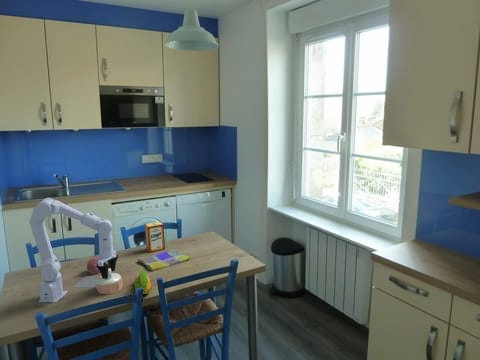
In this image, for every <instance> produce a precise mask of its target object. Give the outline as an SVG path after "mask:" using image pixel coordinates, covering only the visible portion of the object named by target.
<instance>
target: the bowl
mask: <svg viewBox="0 0 480 360" xmlns="http://www.w3.org/2000/svg"><path fill="white" fill-rule="evenodd" d="M96 287H97V288H96V291H97V292H98V293H99V294H100V295H111V294H114V293H117V292H119V291H121V290H122V288H123V287H124V281H123V277H122V276H121V279H120V280H119V281H118V282H116V283H114V284H111V285H98V284H96Z"/></svg>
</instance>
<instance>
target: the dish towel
mask: <svg viewBox="0 0 480 360" xmlns="http://www.w3.org/2000/svg"><path fill="white" fill-rule="evenodd" d="M190 259H191V257H190V256H188V255H184V254H182V253H181V252H179V250H177V249H176V248H172V249H169V250H166V251H163V252H160V253H157V254H154V255H149V256H146V257H140V258H137V259H136V261H138V262H139V263H141V264H142V265H143V266H145V268H146V269H147V270H148V271H149V272H154V271H158V270H162V269H165V268H169V267H172V266H176V265H178V264H182V263H184V262H186V261H188V260H190Z"/></svg>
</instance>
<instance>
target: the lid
mask: <svg viewBox="0 0 480 360" xmlns="http://www.w3.org/2000/svg"><path fill="white" fill-rule="evenodd" d="M98 276H99V277H97V278H96V279H95V283H96V284H98V285H111V284H114V283H116V282H118V281H119V280H120V279H121V277H122V276H121V275H120V274H119V273H116V272H112V271H111V268H109V269H108V278H107V279H103V278H102V275H101V274H100V275H98Z"/></svg>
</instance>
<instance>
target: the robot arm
mask: <svg viewBox="0 0 480 360" xmlns="http://www.w3.org/2000/svg"><path fill="white" fill-rule="evenodd" d="M51 214H52V215H53V216H55V215H60V214H62V215H65V216H68V217H70V218H73V219H75V220H78V221H79V222H80V224H81V225H82V226H84V227H87V228H89V229H91V230H94V231H96V232H97V234H98V243H99V244H98V245H99V255H100V256H99V258H100V259H99V261H98V264H96V267H97V268H98V269H99V271H100V273H99V274H100V276H101V275H102V278H103V279H107V278H108V269H109V268H111V272H115V271H116V264H117V261H118V258H119V255H118V254H117V249H114V242H113V241H114V240H113V233H112V227H113V225H112V222H111V220H109V219H108V218H103V217H99V216H97V215H95V214H94V213H93V212H84V213H83V212H81V211H80V210H77V209H76V208H74V207H71V206H69V205H67V204H66V203H63V202H61V201H59V200H57V199H54V198H51V197H45V198H43V199H42V200H41V201H40V202H39V203H38V204H36V205H35V206H34V208H32V213H31V215H30V219H29V220H28V221H29V225H30V229H31V232H32V236H33V237H34V242H35V244H36V248H37V250H38V253H39V254H38V255H39V257H40V261H41V263H40V268H41V272H40V276H41V279H42V283H41V284H40V285H39V288H38V293H39V300H38V302H39V303H57V302H58V301H59V300H61V298H63V297H64V296H65V295H66V294H67V293H68V290H64V288H63V286H64V285H63V281H62V274H61V272H60V270H62V264H61V261H59V260H58V258H57V256H56V255H55V254H54V251H53V248H52V244H51V241H50V238H49V235H48V231H47V228H46V225H45V224H46V223H45V220H46V219H47V217H49V216H50V215H51ZM106 262H107V263H106Z"/></svg>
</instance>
